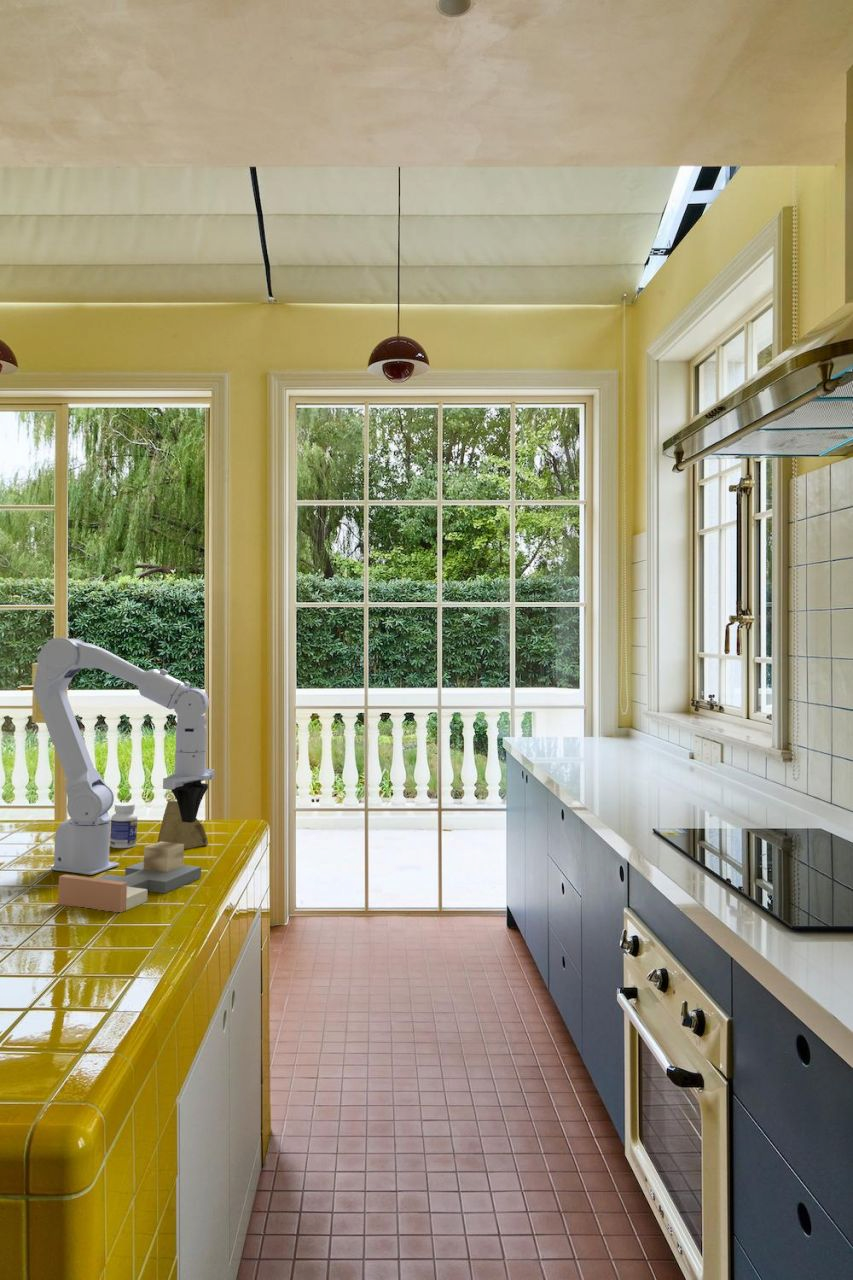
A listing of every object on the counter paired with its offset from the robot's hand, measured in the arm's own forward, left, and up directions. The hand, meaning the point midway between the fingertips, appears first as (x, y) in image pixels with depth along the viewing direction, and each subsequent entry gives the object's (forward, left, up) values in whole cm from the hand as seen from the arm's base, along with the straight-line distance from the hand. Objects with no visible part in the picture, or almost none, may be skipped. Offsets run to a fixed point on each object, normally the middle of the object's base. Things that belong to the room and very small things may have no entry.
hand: (188, 821), depth 162 cm
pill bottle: (-23, +10, -9) cm, 27 cm away
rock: (-11, +14, -9) cm, 20 cm away
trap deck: (0, -16, -9) cm, 18 cm away
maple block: (0, -8, -7) cm, 10 cm away
